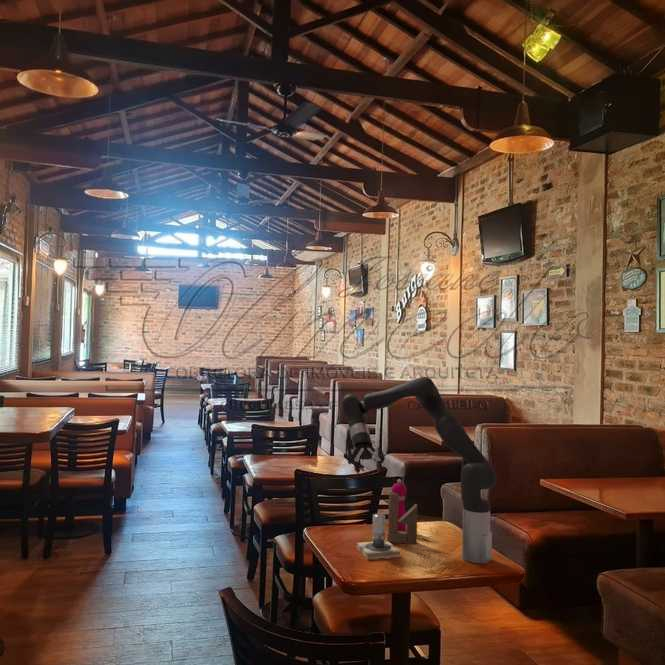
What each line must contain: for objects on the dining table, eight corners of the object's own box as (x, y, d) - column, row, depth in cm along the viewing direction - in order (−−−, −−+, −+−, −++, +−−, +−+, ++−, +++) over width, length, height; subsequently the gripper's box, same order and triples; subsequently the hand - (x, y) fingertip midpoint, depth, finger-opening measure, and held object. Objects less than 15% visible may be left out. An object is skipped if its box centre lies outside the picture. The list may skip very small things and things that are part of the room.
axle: (386, 546, 211) (387, 514, 211) (380, 549, 207) (381, 517, 207) (376, 543, 213) (376, 512, 214) (369, 546, 210) (370, 515, 210)
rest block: (400, 557, 206) (400, 551, 206) (367, 559, 203) (367, 553, 203) (387, 546, 217) (388, 540, 217) (356, 548, 214) (356, 542, 214)
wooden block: (416, 544, 221) (417, 495, 221) (387, 543, 221) (389, 494, 221) (415, 541, 224) (416, 493, 225) (387, 540, 224) (388, 492, 225)
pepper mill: (410, 528, 240) (411, 479, 241) (402, 532, 234) (403, 482, 235) (394, 525, 244) (395, 476, 245) (386, 529, 238) (387, 479, 239)
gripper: (375, 442, 240) (384, 476, 228) (341, 443, 236) (349, 478, 224) (379, 431, 235) (389, 465, 223) (345, 431, 231) (353, 466, 219)
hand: (369, 471), depth 224 cm, fingers open, 8 cm apart
